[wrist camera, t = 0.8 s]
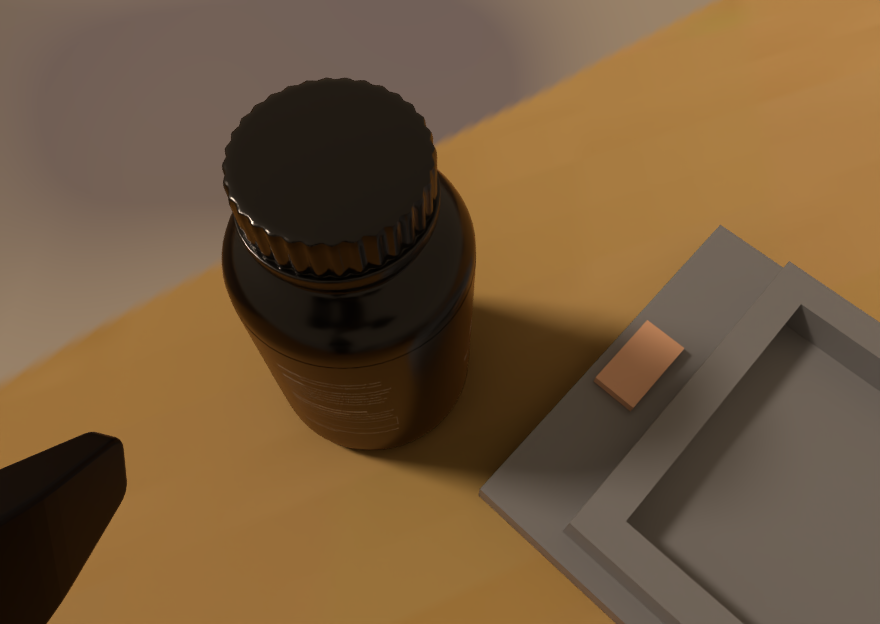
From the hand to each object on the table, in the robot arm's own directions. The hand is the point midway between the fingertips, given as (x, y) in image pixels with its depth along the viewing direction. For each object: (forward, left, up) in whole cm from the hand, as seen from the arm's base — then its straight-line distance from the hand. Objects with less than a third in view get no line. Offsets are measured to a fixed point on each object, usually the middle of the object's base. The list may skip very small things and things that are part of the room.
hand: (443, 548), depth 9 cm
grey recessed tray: (+11, -7, -15) cm, 20 cm away
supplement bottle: (+5, +8, -15) cm, 18 cm away
